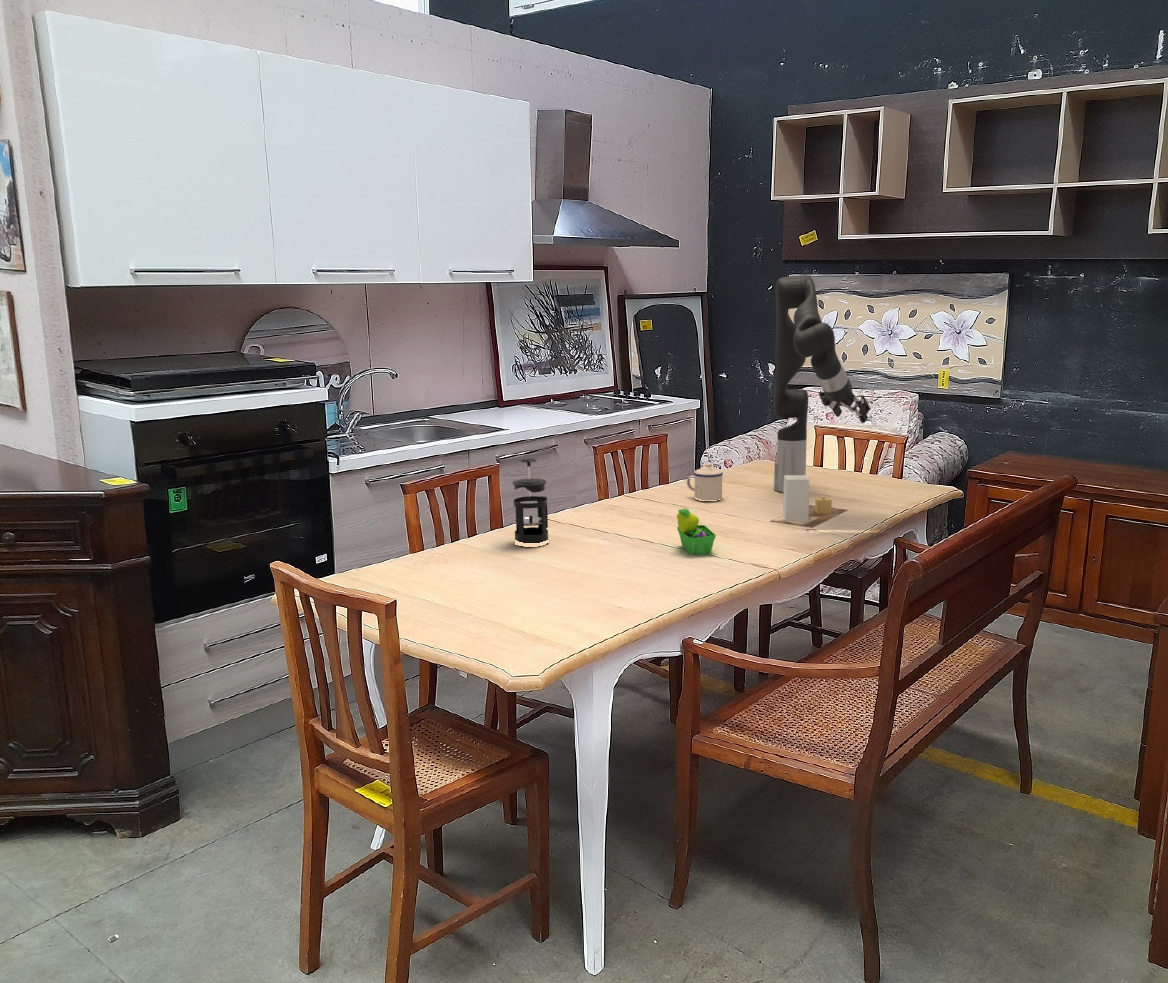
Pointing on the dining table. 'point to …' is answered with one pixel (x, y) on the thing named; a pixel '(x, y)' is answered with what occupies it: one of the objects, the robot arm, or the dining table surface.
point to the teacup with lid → (707, 483)
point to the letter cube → (823, 505)
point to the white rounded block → (796, 498)
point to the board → (811, 518)
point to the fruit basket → (694, 533)
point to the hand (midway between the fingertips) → (851, 417)
